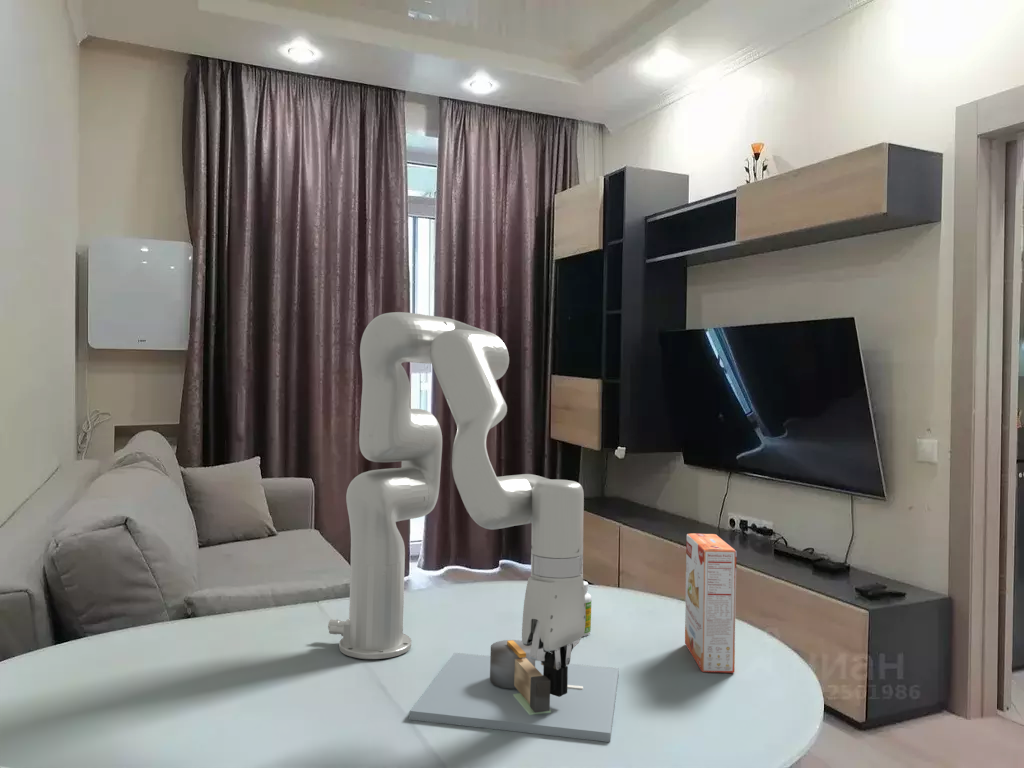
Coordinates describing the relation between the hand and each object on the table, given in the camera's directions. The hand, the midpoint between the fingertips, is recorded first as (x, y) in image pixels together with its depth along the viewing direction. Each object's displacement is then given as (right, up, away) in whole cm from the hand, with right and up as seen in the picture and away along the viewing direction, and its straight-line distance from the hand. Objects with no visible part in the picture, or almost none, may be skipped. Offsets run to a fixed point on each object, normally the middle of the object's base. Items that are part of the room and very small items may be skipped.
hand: (555, 692), depth 109 cm
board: (-5, -3, +6) cm, 8 cm away
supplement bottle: (+6, -4, +36) cm, 37 cm away
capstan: (-5, -1, +4) cm, 6 cm away
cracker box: (+28, -4, +24) cm, 37 cm away
